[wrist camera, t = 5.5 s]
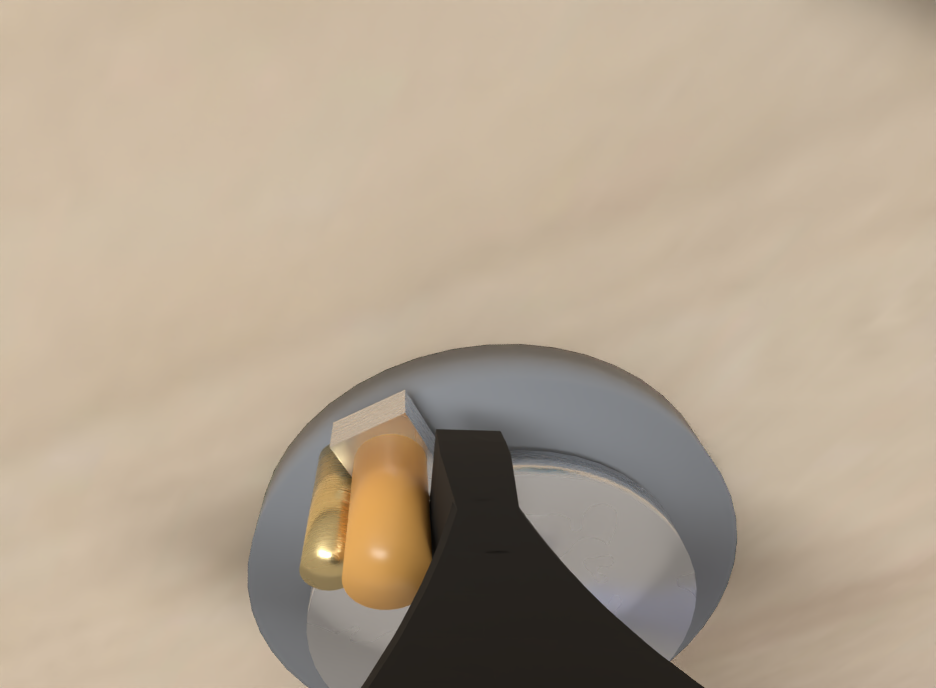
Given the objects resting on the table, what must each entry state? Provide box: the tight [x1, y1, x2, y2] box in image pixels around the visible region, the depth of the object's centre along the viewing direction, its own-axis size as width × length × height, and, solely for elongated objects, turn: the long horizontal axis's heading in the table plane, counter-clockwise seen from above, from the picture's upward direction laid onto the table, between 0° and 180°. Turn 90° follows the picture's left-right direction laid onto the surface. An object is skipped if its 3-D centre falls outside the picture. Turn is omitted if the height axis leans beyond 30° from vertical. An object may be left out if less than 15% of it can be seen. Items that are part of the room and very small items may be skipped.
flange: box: [306, 390, 697, 688], centre depth 14 cm, size 11×9×4 cm
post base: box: [248, 344, 737, 688], centre depth 15 cm, size 12×12×4 cm
